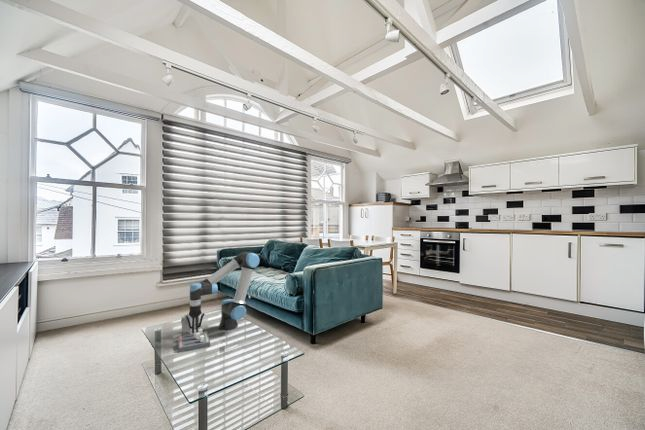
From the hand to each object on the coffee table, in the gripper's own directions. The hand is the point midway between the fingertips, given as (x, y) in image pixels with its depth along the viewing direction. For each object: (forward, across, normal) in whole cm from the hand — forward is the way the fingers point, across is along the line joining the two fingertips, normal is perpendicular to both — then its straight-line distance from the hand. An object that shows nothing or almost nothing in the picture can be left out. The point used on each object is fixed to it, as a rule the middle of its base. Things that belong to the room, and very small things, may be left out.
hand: (194, 337), depth 203 cm
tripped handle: (+1, +2, 0) cm, 2 cm away
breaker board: (+4, -1, 0) cm, 4 cm away
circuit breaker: (+5, -2, +20) cm, 20 cm away
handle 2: (+1, +4, -7) cm, 8 cm away
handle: (+1, +4, +7) cm, 8 cm away
